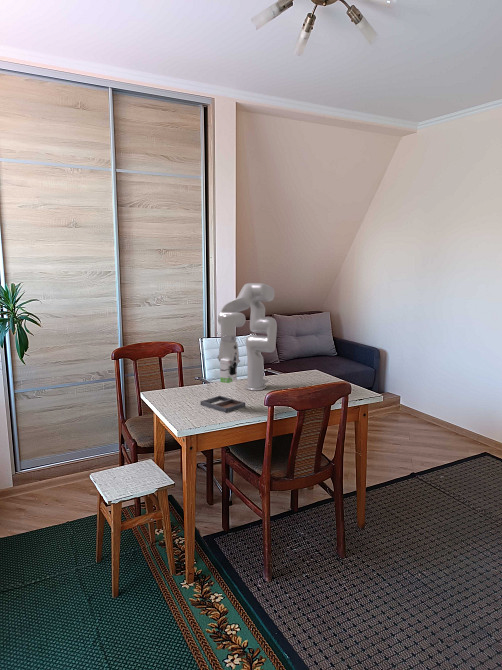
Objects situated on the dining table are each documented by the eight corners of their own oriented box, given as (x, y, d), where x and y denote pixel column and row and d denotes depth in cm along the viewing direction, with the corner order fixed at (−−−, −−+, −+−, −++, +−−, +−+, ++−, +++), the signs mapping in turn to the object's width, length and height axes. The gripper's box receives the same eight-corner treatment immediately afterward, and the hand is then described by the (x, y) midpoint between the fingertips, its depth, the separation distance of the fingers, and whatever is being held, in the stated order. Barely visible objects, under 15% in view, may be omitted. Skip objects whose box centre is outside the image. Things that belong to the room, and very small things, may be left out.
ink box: (227, 383, 234) (227, 360, 232) (219, 382, 236) (219, 359, 234) (237, 379, 241) (237, 357, 239) (229, 378, 243) (229, 356, 241)
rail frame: (219, 399, 255) (219, 395, 255) (245, 406, 242) (245, 402, 242) (200, 405, 245) (200, 401, 244) (226, 412, 232) (226, 408, 232)
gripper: (245, 339, 232) (246, 375, 235) (221, 335, 243) (222, 369, 246) (235, 341, 227) (235, 377, 229) (211, 337, 238) (211, 372, 241)
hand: (228, 373), depth 238 cm, fingers closed on ink box, 5 cm apart
